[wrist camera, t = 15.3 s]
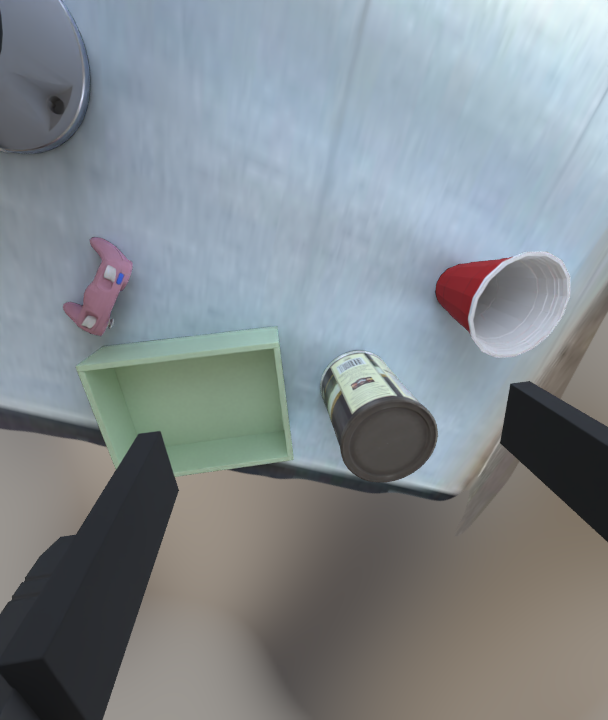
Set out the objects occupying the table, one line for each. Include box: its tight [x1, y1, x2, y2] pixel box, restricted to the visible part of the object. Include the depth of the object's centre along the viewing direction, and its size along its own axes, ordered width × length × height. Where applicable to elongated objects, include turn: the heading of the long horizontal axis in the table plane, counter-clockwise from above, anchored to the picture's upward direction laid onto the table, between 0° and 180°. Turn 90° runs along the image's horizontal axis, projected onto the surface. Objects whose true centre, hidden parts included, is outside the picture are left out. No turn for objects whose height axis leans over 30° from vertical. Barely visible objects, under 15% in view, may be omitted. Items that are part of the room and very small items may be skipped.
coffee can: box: [320, 351, 438, 482], centre depth 40 cm, size 10×10×14 cm
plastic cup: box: [435, 252, 570, 358], centre depth 37 cm, size 11×11×12 cm
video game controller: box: [63, 237, 133, 336], centre depth 36 cm, size 10×5×7 cm, turn 147°
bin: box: [76, 326, 294, 477], centre depth 42 cm, size 16×22×6 cm
